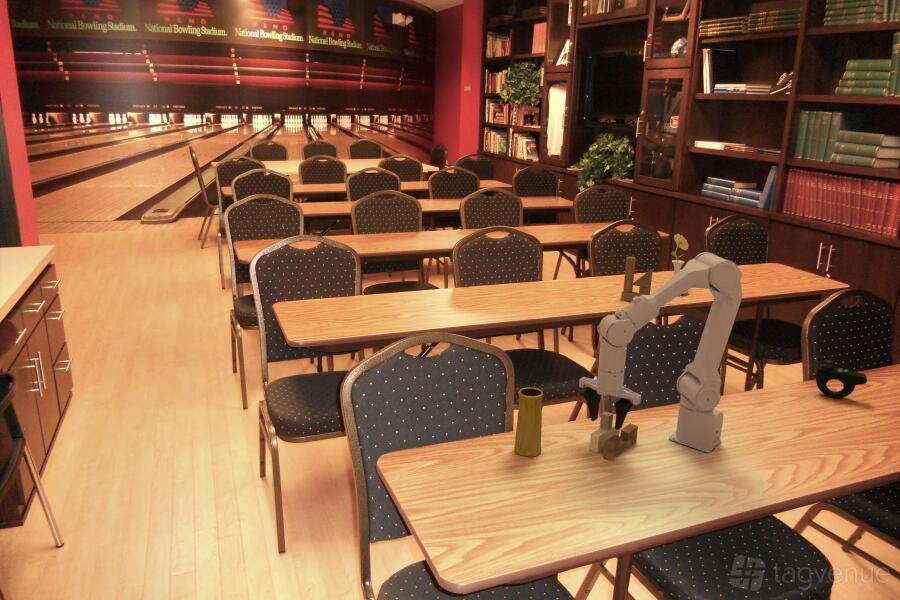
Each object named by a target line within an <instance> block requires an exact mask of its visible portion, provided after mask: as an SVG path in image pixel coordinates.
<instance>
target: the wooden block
mask: <svg viewBox="0 0 900 600" xmlns="http://www.w3.org/2000/svg"><path fill="white" fill-rule="evenodd" d="M636 260H637V259H636V257H635V256H626V259H625V270H624V271H625V272H624V281H623V282H624V283H623V291H621V295H620V296H621V297H620V300H621V301H623V300H624V301H623V302H628V301H629V303H631V302H632V301H633V300H632V299H633V298H634V297H635V296H638V297H639V296H641V295H651V288H652V280H653V272H654V271H653V268H651V269H650V270H648V271H646V272H645V273H644V274H643V275H642V276H641V277H639V278H638V279H637V280H635V281H634V278H635V270H636V269H635V268H636ZM634 286H636V287H639V289H638V292H637V291H633V290H634V289H633V288H634Z"/></svg>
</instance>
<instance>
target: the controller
mask: <svg viewBox="0 0 900 600" xmlns="http://www.w3.org/2000/svg"><path fill="white" fill-rule="evenodd" d="M823 362H824V364H823V363H822V364H817V365H816V370H815V371H814V376H813V378H815V383H816V387H817V388H818V390H819V391H820V392H821V393H822V394H823V395H825V396H827V397H829V398H832V399H842V398H843V399H844V398H846V397H848V396H849V395H851V394H852V393H853V391H854V390H855V388H856V386H861V385H862V386H863V385H865V384H867V382H868V377H867V374H866V373H863V372H859V371H852V370H848V369H843V368H842V367H839V368H838V367H835V366H833V363H834V361H833V360H831V359H824V360H823ZM832 380H833V381H834V380H836V381H838V382H840V383H841V384H842V387H843V388H841V390H838V391H834V390H831V389H830V388H829V387H828V385H827V383H829V381H832Z"/></svg>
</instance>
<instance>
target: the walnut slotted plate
mask: <svg viewBox="0 0 900 600" xmlns="http://www.w3.org/2000/svg"><path fill="white" fill-rule="evenodd" d="M638 428H639V426H638V425H635V424H633V423H628V424H627V425H626V426H624V427H622V428H620V433H619V436H618V435H615V434H614V435H613V436H611V437H610V438H608V439H607V440H606V441H605V442H604V448H603V454H602V458H604V459H606V460H608V461H613V460H614V459H615V458H617V457H618V456H620V455H621V454H622V453H623V452H625V451H626V450H627V449H629V448H630V447H632V446H633V445H634V444H635V443H637V441H638V440H637V439H638V432H639V431H638V430H639V429H638Z"/></svg>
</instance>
